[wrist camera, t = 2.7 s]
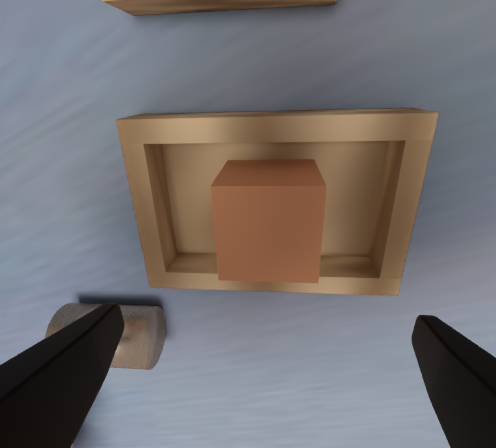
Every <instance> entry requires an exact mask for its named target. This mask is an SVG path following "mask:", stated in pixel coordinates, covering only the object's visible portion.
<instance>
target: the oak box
mask: <svg viewBox="0 0 496 448" xmlns="http://www.w3.org/2000/svg"><path fill="white" fill-rule="evenodd" d="M337 1H338V0H103V2H105V3H108V4H110V5H112V6H114V7H116V8H118V9H120V10H123V11H125V12H127V13H129V14H131V15H133V16H135V15H153V14H171V13H189V12H207V11H225V10H243V9H261V8H279V7H297V6H314V5H332V4H336V2H337Z"/></svg>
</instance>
